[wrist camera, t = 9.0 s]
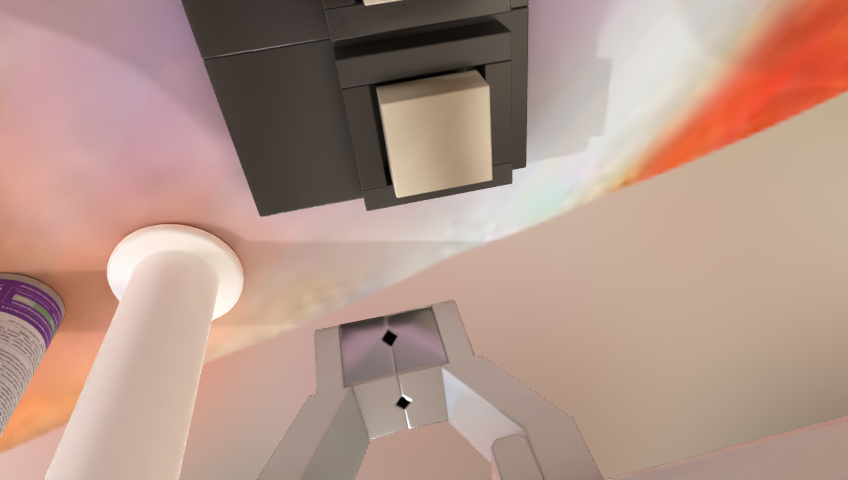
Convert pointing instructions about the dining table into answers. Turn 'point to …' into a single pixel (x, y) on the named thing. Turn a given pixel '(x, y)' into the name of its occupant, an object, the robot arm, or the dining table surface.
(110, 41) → the dining table surface
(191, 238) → the candle
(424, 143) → the key low
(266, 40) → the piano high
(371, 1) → the key high
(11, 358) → the container
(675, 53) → the dining table surface
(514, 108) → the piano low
